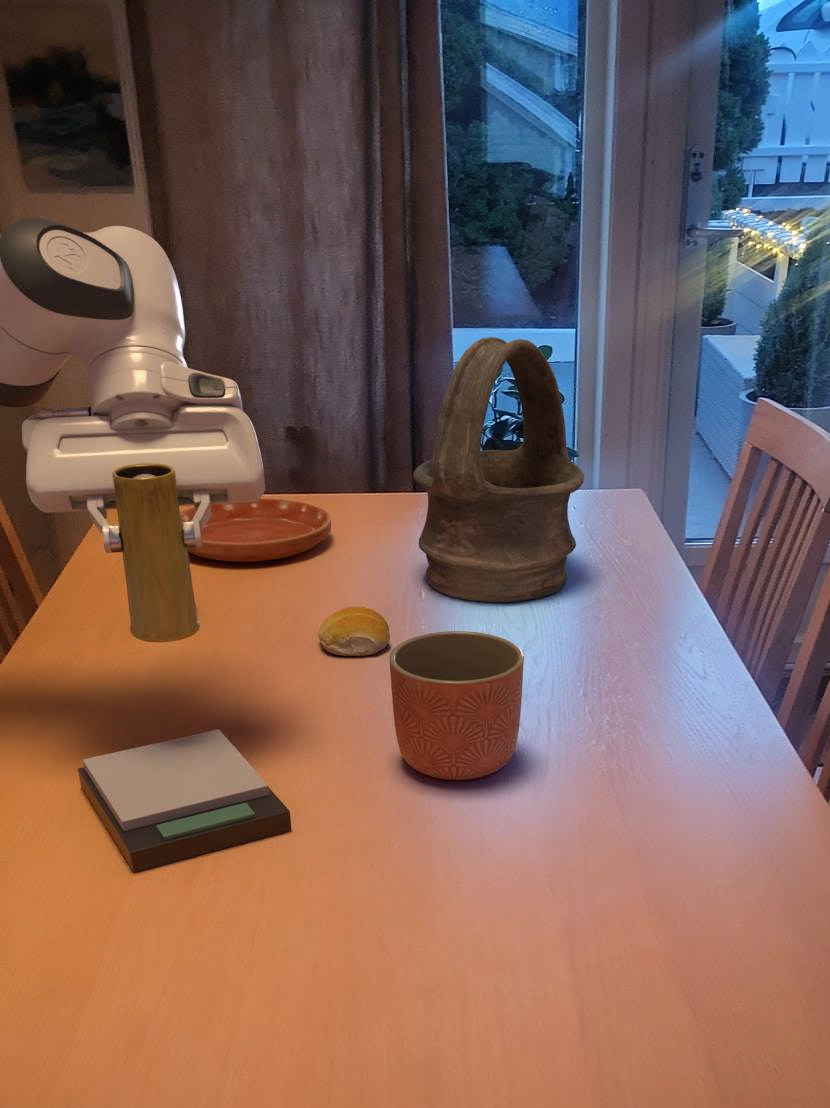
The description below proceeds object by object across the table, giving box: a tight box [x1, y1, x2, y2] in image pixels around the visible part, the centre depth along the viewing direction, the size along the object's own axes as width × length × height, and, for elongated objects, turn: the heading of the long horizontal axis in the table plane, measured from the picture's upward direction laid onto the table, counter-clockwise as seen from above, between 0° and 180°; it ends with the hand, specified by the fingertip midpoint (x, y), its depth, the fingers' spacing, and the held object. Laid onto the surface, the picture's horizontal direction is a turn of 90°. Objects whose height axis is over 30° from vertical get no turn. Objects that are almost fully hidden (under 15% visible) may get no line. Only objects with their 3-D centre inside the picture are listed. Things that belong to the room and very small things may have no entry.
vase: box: [112, 463, 201, 643], centre depth 107 cm, size 6×6×14 cm
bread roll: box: [317, 606, 391, 657], centre depth 143 cm, size 8×9×4 cm
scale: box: [77, 729, 292, 873], centre depth 110 cm, size 14×17×3 cm
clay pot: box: [413, 336, 586, 603], centre depth 156 cm, size 22×23×30 cm
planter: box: [388, 630, 525, 781], centre depth 116 cm, size 12×12×11 cm
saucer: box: [180, 498, 332, 563], centre depth 175 cm, size 23×23×4 cm
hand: (154, 547), depth 106 cm, fingers closed on vase, 5 cm apart
